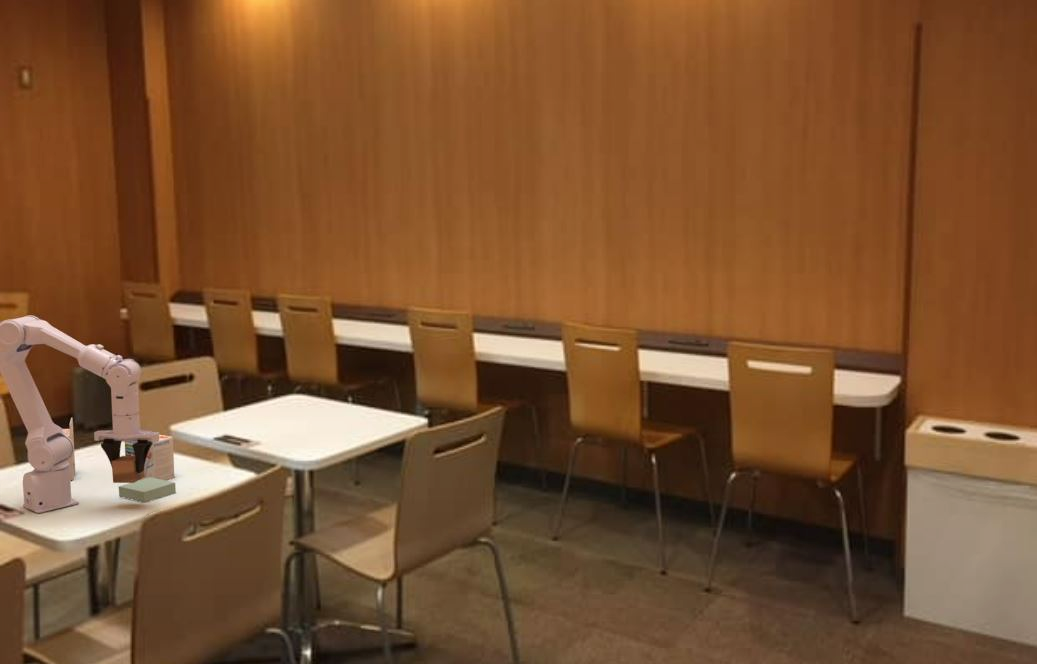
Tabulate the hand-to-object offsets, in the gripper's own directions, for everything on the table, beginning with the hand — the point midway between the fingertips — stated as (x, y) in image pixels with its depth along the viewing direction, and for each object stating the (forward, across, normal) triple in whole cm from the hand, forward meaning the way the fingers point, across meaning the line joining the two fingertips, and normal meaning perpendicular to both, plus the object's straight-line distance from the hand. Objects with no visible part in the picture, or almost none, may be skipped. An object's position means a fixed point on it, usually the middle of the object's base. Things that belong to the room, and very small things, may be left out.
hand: (128, 471), depth 218 cm
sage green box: (+9, 0, -9) cm, 12 cm away
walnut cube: (+2, 0, 0) cm, 2 cm away
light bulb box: (+8, +6, -23) cm, 25 cm away
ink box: (+9, +28, -21) cm, 36 cm away
